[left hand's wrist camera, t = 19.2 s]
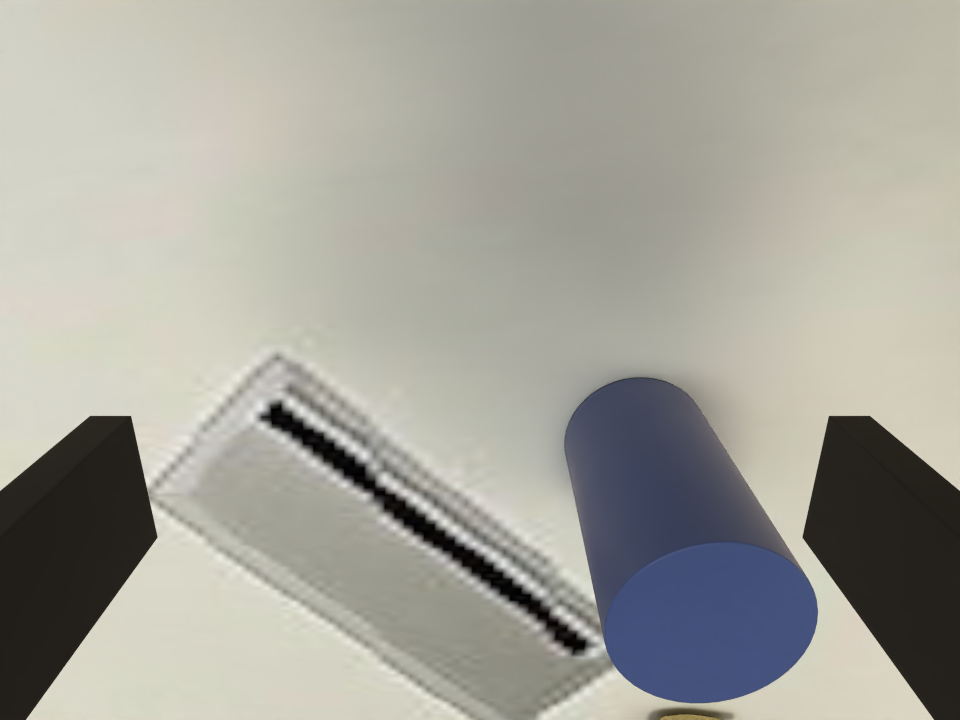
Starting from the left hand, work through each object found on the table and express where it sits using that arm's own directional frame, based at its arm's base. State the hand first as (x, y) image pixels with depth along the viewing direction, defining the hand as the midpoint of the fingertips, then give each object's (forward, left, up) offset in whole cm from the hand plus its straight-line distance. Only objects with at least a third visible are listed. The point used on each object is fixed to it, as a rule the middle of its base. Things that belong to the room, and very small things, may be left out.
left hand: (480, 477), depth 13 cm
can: (+2, +12, -19) cm, 23 cm away
